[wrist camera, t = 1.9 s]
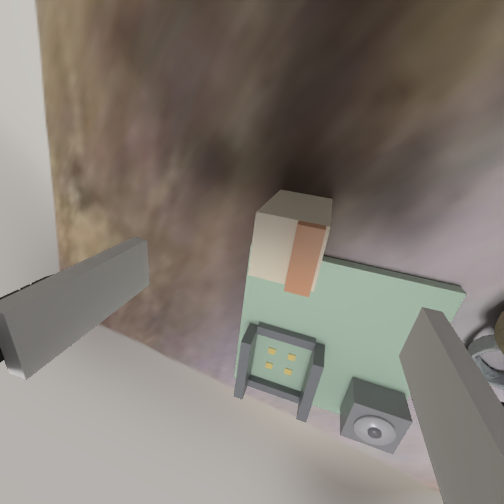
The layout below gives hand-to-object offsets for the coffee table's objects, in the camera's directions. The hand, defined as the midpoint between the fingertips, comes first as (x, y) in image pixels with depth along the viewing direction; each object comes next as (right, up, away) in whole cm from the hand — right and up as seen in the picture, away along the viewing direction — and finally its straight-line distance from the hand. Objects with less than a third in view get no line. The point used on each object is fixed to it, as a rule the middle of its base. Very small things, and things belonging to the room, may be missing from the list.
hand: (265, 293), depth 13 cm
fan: (+12, -14, +15) cm, 23 cm away
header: (+2, -10, +16) cm, 19 cm away
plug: (+4, +5, +11) cm, 13 cm away
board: (+7, -7, +15) cm, 18 cm away
